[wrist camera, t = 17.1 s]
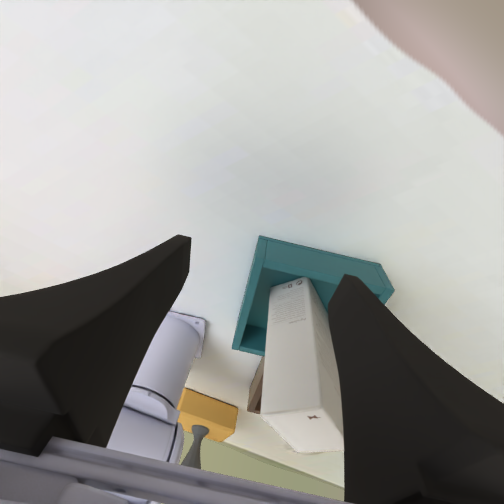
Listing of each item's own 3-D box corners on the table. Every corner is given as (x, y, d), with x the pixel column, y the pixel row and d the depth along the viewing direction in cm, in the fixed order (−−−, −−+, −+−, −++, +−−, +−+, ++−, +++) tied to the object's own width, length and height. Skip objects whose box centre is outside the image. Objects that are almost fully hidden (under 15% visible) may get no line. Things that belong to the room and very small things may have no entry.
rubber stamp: (239, 407, 41) (224, 508, 31) (225, 419, 44) (207, 514, 34) (185, 386, 39) (150, 486, 29) (174, 400, 42) (140, 494, 32)
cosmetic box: (268, 286, 25) (256, 416, 15) (308, 273, 23) (324, 408, 13) (292, 324, 27) (296, 455, 17) (329, 314, 26) (356, 452, 16)
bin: (237, 323, 29) (231, 349, 26) (259, 235, 22) (255, 257, 19) (329, 344, 29) (334, 373, 26) (380, 264, 22) (395, 290, 19)
